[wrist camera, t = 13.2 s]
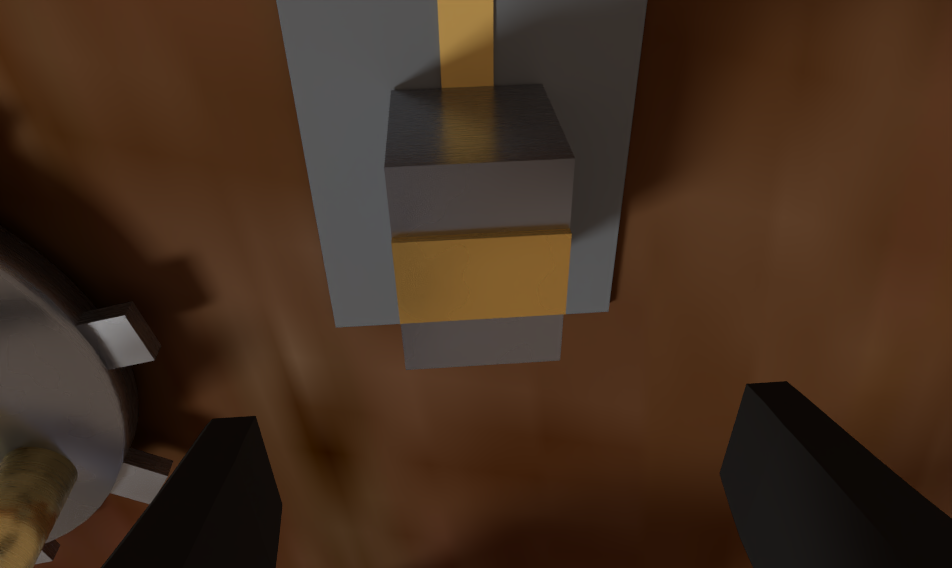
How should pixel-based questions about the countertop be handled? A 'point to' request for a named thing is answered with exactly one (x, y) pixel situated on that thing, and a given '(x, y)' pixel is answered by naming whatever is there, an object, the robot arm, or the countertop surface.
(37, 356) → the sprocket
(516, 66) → the pad
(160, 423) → the countertop surface
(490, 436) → the countertop surface
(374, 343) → the countertop surface
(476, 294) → the link
